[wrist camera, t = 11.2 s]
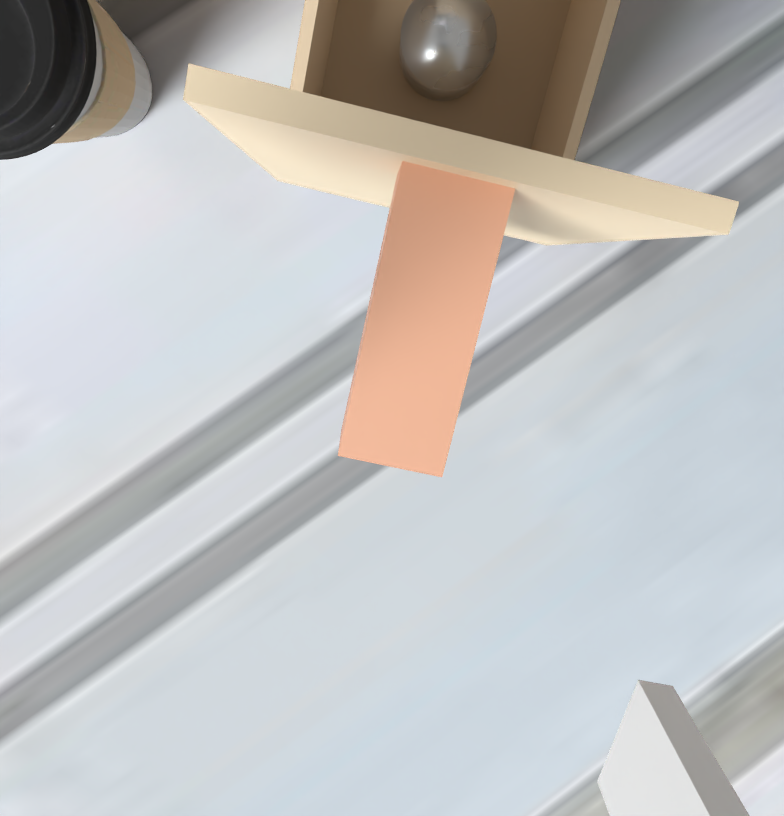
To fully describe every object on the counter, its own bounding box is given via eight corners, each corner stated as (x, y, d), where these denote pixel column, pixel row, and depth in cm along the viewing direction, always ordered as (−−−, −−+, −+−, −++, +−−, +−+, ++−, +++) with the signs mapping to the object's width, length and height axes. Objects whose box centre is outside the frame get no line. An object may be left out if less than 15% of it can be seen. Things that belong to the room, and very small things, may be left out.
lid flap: (188, 63, 16) (133, 425, 17) (739, 201, 17) (634, 528, 19) (280, 163, 33) (248, 342, 34) (551, 229, 34) (505, 398, 36)
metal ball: (419, -11, 38) (423, -35, 34) (500, 27, 39) (513, 7, 35) (386, 80, 39) (385, 66, 36) (464, 115, 40) (472, 105, 36)
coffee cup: (81, -47, 38) (-100, -194, 23) (216, 79, 40) (125, 14, 25) (-11, 90, 40) (-231, 32, 25) (122, 203, 42) (-12, 208, 27)
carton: (361, -180, 36) (355, -297, 28) (609, -108, 37) (678, -199, 29) (298, 169, 41) (277, 162, 33) (518, 222, 42) (554, 229, 34)
